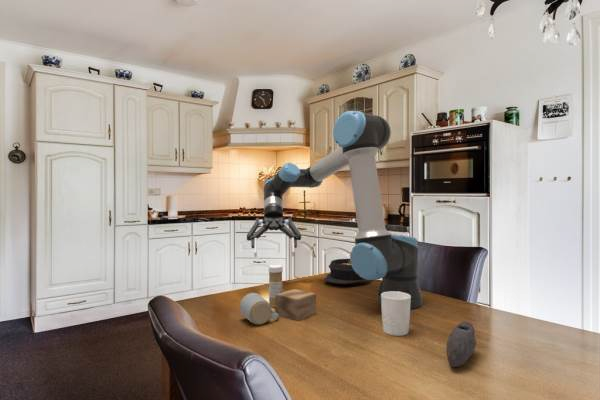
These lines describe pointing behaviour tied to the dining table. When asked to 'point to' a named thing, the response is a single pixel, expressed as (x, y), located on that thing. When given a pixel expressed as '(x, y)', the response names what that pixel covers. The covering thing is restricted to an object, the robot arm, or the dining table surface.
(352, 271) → the black fedora hat
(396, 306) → the white cup
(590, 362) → the dining table surface
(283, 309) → the tan block
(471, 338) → the perforated stone tool
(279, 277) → the sprinkles bottle
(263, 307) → the ceramic mug
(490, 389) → the dining table surface
